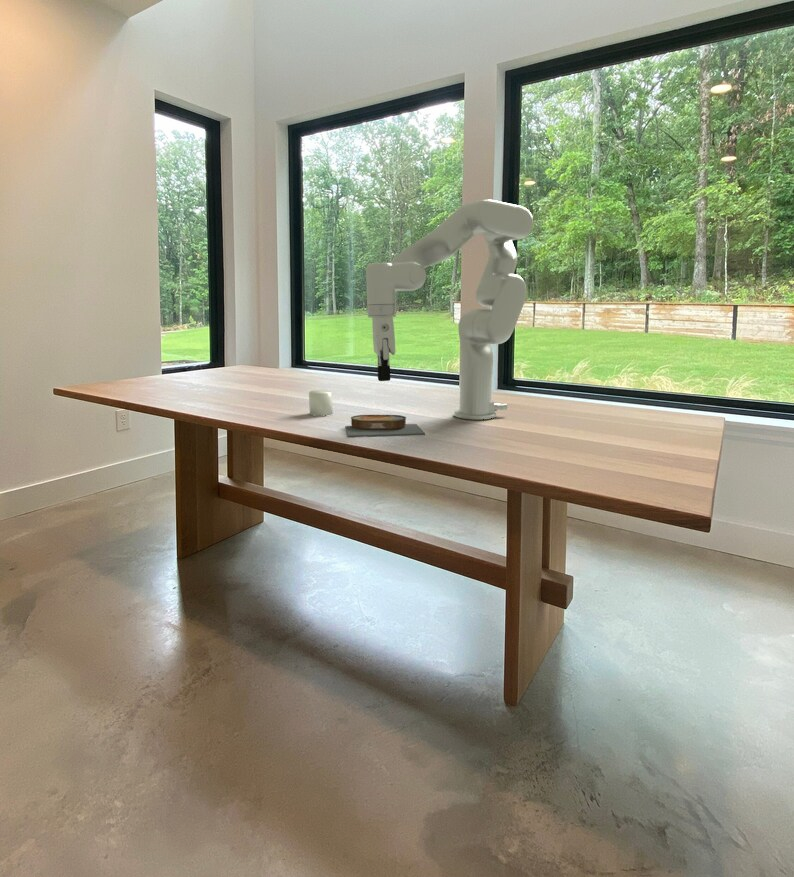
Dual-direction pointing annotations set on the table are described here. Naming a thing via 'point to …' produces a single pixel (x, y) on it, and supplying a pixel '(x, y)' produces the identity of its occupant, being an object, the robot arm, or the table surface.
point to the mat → (385, 431)
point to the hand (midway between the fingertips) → (384, 380)
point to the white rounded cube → (320, 402)
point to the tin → (378, 421)
